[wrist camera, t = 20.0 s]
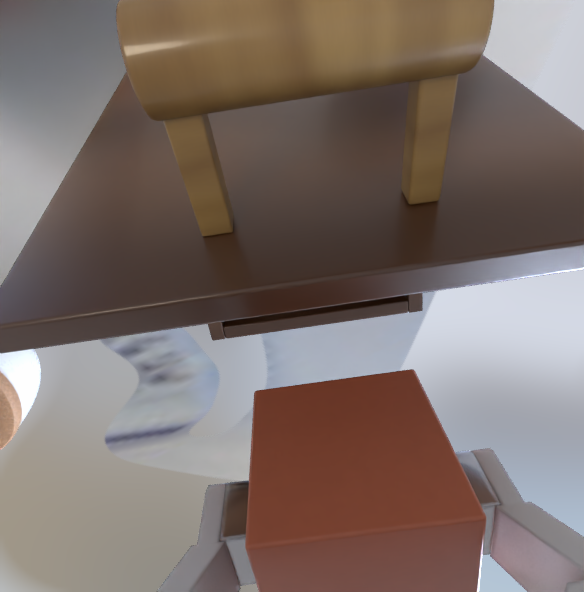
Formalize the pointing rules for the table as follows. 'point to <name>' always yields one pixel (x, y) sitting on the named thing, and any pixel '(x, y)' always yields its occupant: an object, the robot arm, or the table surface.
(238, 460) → the table surface
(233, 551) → the robot arm
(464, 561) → the block
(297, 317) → the chest
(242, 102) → the lid
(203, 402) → the table surface
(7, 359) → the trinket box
